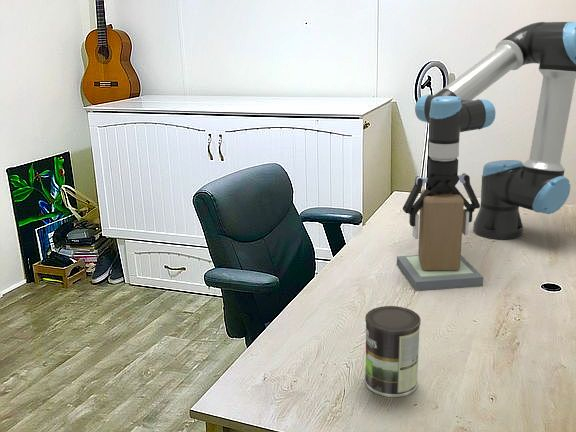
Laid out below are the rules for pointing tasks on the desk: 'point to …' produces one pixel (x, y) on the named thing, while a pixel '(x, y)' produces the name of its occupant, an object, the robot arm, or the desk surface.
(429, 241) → the wooden block
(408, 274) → the plinth
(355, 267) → the desk surface
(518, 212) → the robot arm
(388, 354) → the coffee can
